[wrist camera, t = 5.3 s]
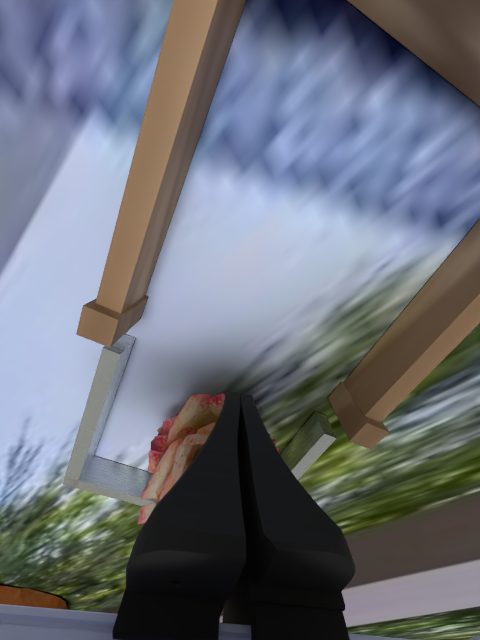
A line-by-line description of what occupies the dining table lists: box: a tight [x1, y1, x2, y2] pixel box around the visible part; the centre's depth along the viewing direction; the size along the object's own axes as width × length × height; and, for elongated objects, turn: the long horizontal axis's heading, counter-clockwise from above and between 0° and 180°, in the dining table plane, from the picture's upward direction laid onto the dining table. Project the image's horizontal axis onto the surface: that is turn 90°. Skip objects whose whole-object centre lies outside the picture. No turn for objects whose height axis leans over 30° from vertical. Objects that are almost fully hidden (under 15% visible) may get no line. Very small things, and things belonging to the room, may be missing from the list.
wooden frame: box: [77, 0, 480, 449], centre depth 11 cm, size 17×18×4 cm
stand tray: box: [63, 334, 336, 506], centre depth 17 cm, size 16×14×2 cm
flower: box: [138, 394, 279, 524], centre depth 15 cm, size 9×9×7 cm
